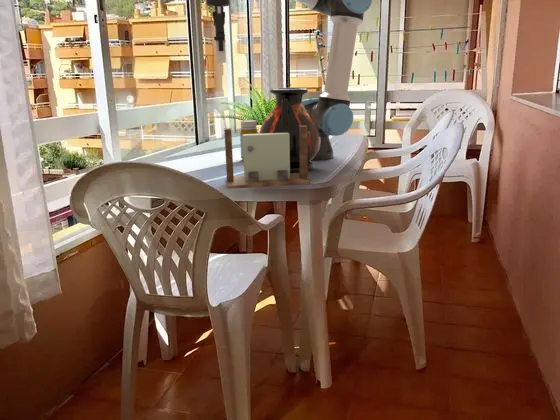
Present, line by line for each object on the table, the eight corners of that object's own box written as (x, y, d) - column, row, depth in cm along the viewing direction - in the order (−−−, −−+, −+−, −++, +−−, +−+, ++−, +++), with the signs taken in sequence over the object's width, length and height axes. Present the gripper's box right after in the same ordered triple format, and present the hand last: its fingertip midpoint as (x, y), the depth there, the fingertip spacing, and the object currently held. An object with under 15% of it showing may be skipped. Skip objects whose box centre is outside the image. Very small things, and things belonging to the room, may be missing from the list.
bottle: (239, 160, 194) (238, 121, 190) (243, 157, 201) (241, 119, 197) (257, 160, 193) (255, 121, 189) (260, 157, 200) (258, 119, 196)
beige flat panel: (288, 176, 156) (287, 132, 152) (290, 179, 152) (290, 134, 148) (244, 179, 155) (242, 134, 151) (245, 182, 151) (243, 136, 147)
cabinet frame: (303, 177, 162) (302, 123, 157) (310, 186, 150) (310, 128, 145) (226, 181, 159) (223, 126, 154) (228, 190, 147) (225, 131, 142)
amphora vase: (266, 163, 186) (264, 87, 178) (323, 164, 183) (323, 86, 175) (253, 176, 166) (250, 90, 158) (317, 177, 162) (317, 89, 154)
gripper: (206, -3, 167) (209, 63, 173) (205, -14, 143) (209, 62, 149) (228, -3, 168) (231, 62, 174) (231, -14, 144) (234, 61, 150)
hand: (221, 62), depth 162 cm, fingers open, 13 cm apart
